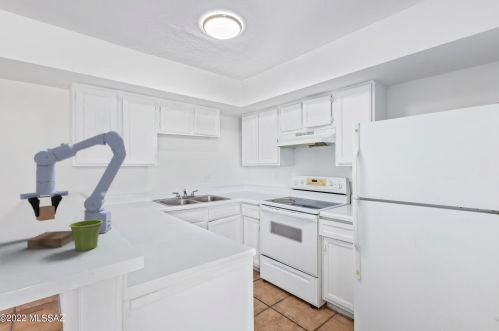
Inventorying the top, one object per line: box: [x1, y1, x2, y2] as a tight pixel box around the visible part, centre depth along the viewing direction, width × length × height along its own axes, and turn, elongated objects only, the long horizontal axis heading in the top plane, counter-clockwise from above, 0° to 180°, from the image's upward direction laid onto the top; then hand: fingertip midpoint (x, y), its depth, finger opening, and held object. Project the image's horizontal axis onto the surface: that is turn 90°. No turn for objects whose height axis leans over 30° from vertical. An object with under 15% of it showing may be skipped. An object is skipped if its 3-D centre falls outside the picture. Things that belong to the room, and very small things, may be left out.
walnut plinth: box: [26, 230, 74, 250], centre depth 85 cm, size 10×10×3 cm
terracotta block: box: [35, 204, 56, 222], centre depth 93 cm, size 4×4×5 cm
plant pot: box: [69, 220, 102, 252], centre depth 80 cm, size 9×9×9 cm
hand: (45, 215), depth 93 cm, fingers closed on terracotta block, 4 cm apart
